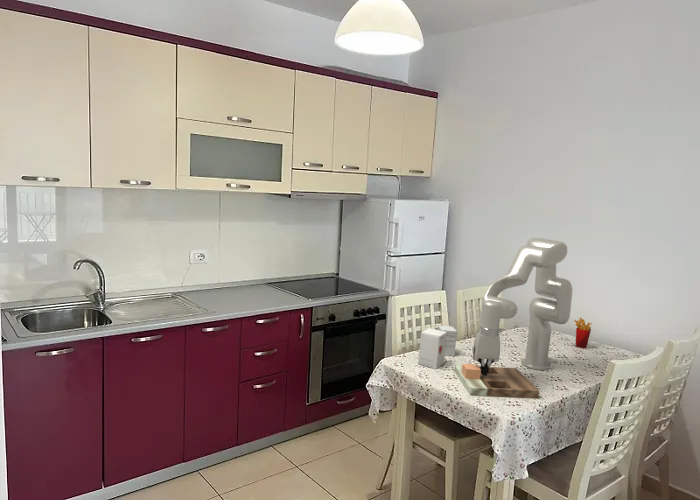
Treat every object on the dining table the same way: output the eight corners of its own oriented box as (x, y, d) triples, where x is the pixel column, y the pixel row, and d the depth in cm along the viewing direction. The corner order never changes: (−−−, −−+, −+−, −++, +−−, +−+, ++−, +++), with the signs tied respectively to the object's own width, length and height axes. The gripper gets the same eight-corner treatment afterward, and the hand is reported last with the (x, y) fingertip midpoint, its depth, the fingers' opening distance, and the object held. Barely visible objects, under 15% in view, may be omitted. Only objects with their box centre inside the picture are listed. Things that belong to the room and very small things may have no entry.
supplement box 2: (435, 350, 249) (438, 325, 247) (450, 351, 250) (453, 326, 248) (439, 356, 242) (441, 330, 240) (454, 356, 243) (457, 330, 241)
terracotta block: (475, 373, 214) (476, 364, 214) (479, 379, 208) (481, 369, 208) (461, 372, 214) (462, 363, 213) (465, 378, 208) (466, 369, 208)
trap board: (515, 374, 225) (516, 368, 224) (538, 398, 201) (539, 391, 201) (454, 371, 223) (454, 365, 223) (470, 395, 199) (470, 387, 199)
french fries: (589, 346, 274) (593, 319, 272) (586, 350, 267) (590, 322, 265) (571, 342, 278) (575, 315, 276) (568, 346, 272) (572, 318, 269)
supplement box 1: (436, 369, 224) (439, 336, 222) (417, 364, 229) (420, 331, 227) (444, 364, 232) (447, 331, 230) (425, 359, 237) (428, 327, 235)
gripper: (503, 329, 213) (498, 372, 215) (468, 327, 212) (463, 370, 214) (510, 335, 205) (505, 379, 208) (473, 333, 204) (468, 377, 207)
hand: (483, 374), depth 211 cm, fingers closed
